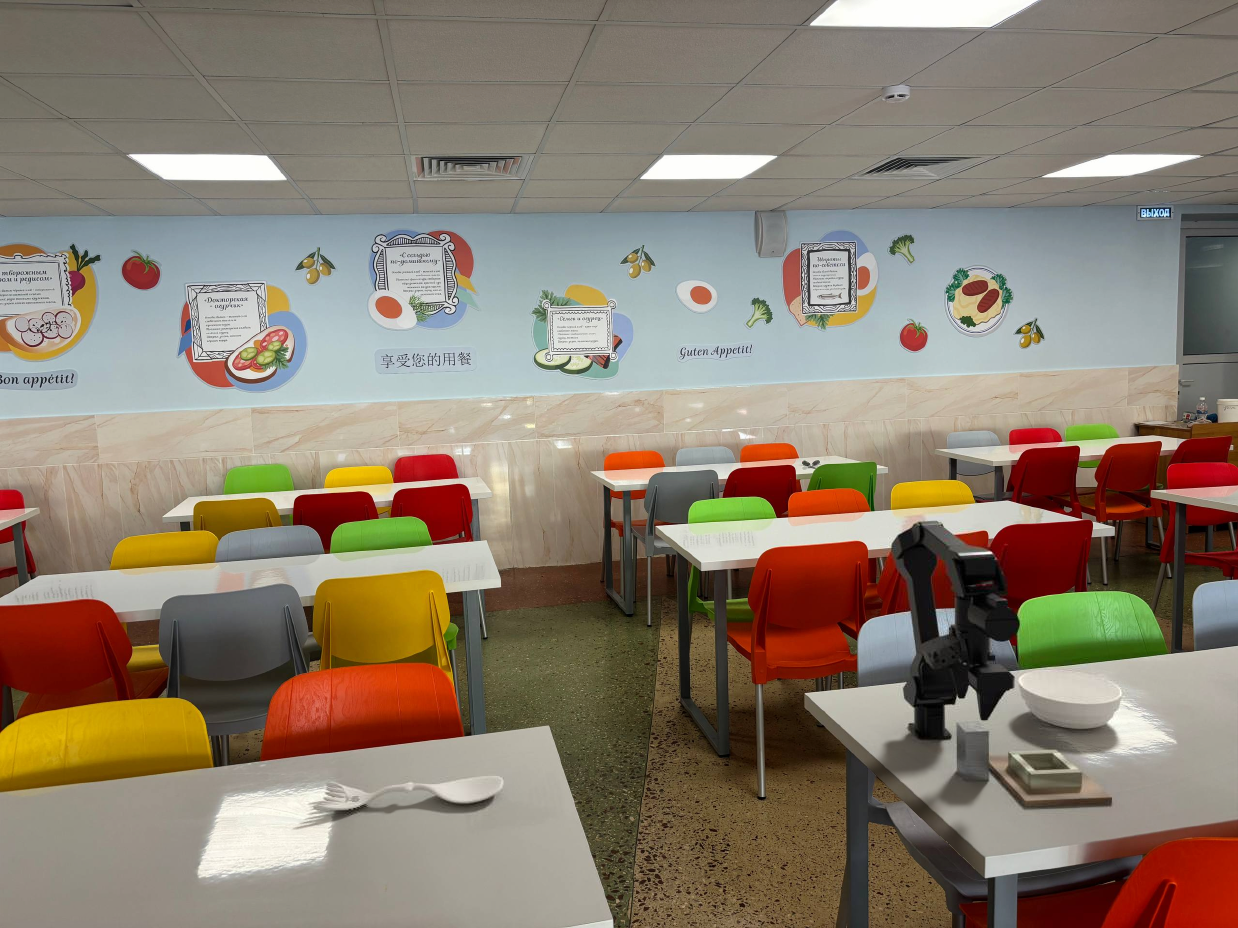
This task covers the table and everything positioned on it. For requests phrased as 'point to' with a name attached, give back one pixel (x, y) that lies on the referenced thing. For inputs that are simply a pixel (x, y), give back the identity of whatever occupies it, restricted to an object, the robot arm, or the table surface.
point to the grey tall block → (972, 751)
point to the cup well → (1046, 779)
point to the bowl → (1070, 698)
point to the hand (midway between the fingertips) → (972, 708)
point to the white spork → (449, 791)
